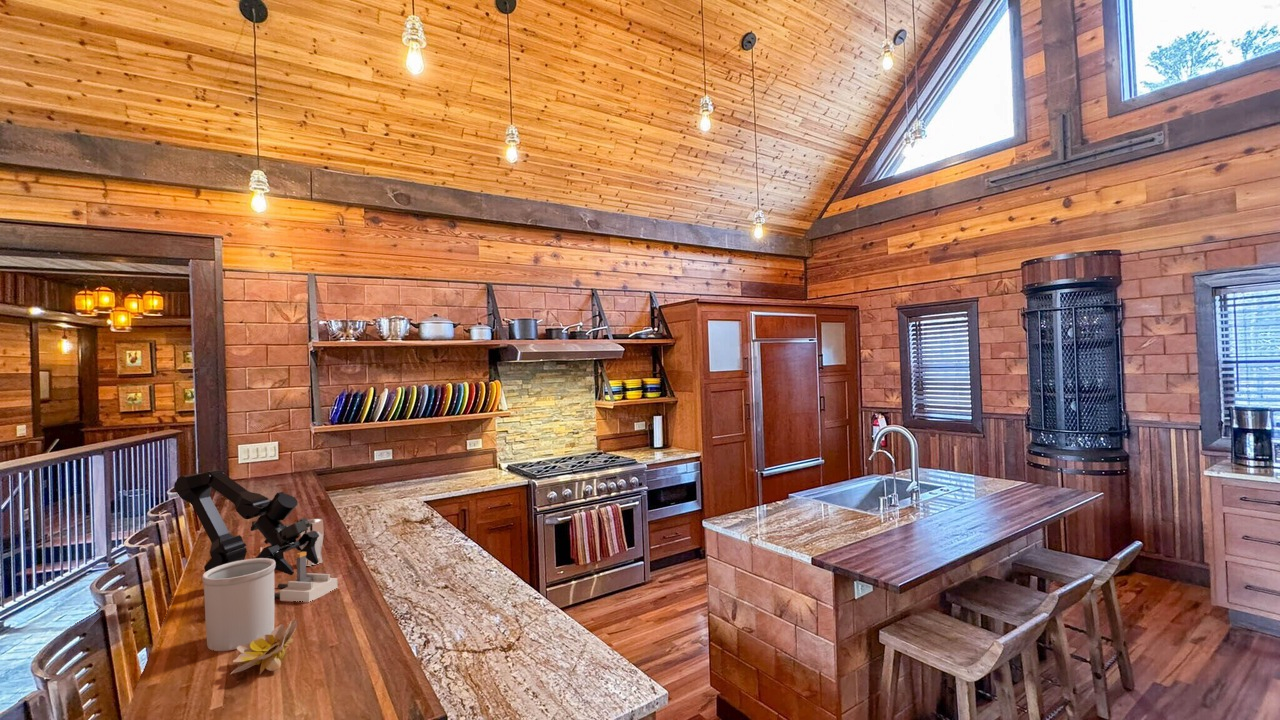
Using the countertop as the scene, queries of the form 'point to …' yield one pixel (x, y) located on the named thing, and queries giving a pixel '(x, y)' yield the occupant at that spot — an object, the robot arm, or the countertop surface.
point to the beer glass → (318, 527)
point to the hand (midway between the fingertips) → (305, 568)
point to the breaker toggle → (302, 568)
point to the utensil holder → (239, 602)
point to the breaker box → (307, 588)
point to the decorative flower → (266, 649)
